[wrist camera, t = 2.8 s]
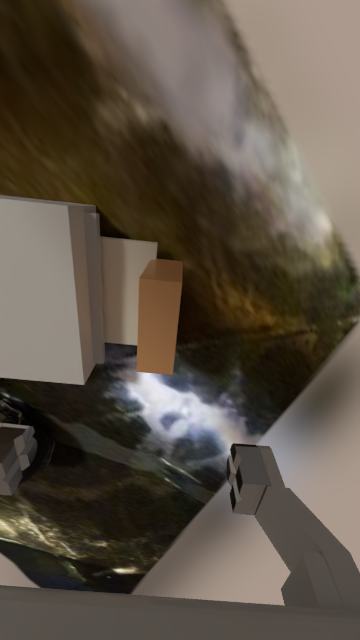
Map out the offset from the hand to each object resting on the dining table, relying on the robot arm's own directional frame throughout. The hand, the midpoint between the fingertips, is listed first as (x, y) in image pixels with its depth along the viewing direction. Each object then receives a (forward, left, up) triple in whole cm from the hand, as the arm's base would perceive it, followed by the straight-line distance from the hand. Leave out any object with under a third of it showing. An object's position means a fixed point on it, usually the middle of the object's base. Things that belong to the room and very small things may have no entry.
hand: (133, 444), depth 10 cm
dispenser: (0, -16, -18) cm, 24 cm away
